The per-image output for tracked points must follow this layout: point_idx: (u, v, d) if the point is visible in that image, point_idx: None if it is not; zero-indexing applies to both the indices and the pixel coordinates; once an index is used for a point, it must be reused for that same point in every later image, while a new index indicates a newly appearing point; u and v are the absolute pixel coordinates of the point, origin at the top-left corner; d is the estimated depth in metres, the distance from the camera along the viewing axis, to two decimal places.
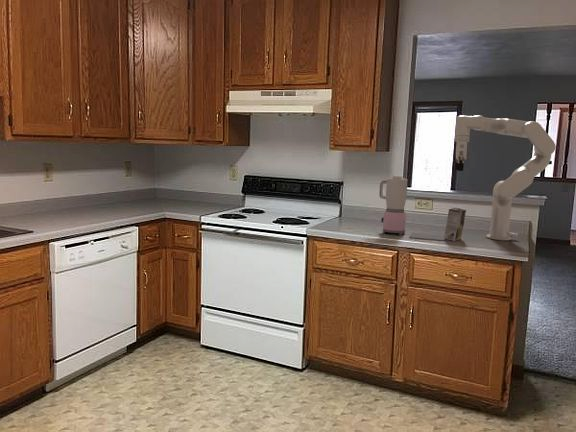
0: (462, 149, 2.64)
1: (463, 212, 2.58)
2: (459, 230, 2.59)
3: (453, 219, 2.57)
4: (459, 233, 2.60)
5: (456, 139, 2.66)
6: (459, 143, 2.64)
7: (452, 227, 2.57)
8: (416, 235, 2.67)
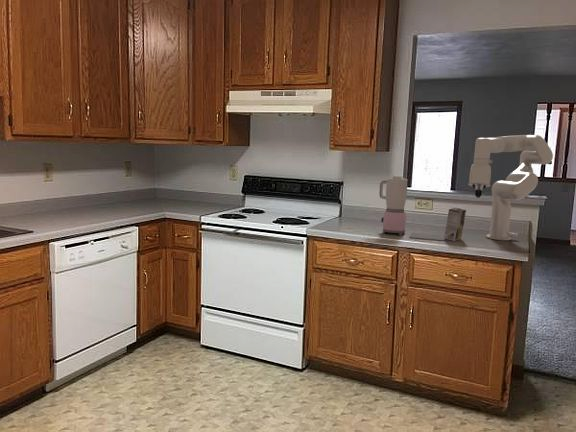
0: (490, 173, 2.52)
1: (463, 212, 2.58)
2: (459, 230, 2.59)
3: (453, 219, 2.57)
4: (459, 233, 2.60)
5: (486, 163, 2.49)
6: (490, 167, 2.51)
7: (452, 227, 2.57)
8: (416, 235, 2.67)
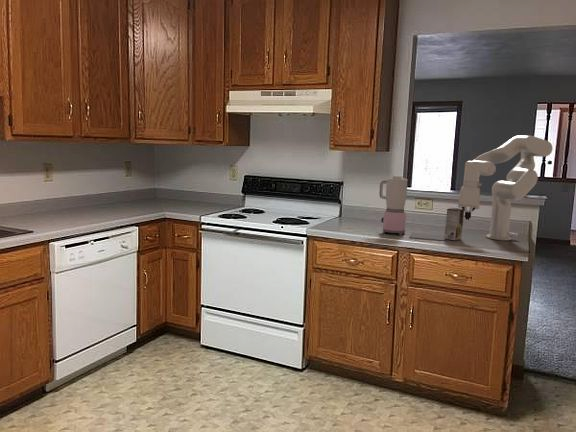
0: None
1: (461, 211, 2.59)
2: (459, 229, 2.60)
3: (452, 218, 2.58)
4: (459, 232, 2.60)
5: (475, 186, 2.53)
6: (479, 190, 2.54)
7: (452, 226, 2.58)
8: (416, 235, 2.67)
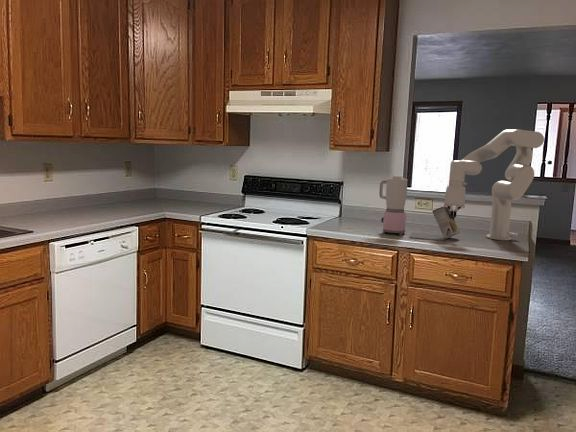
0: None
1: (446, 207, 2.65)
2: (453, 224, 2.62)
3: (440, 216, 2.62)
4: (454, 226, 2.62)
5: (460, 185, 2.55)
6: (464, 189, 2.56)
7: (444, 223, 2.60)
8: (416, 235, 2.67)
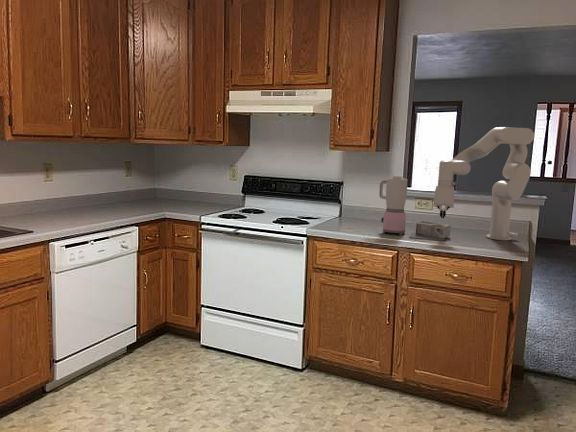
0: None
1: (421, 222, 2.73)
2: (438, 224, 2.66)
3: (423, 229, 2.68)
4: (440, 225, 2.65)
5: (449, 185, 2.57)
6: (453, 189, 2.58)
7: (431, 229, 2.65)
8: (416, 235, 2.67)
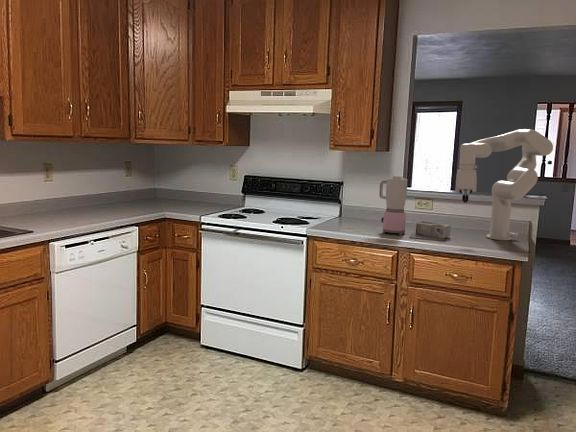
0: (476, 178, 2.55)
1: (421, 222, 2.73)
2: (438, 224, 2.66)
3: (423, 229, 2.68)
4: (440, 225, 2.65)
5: (471, 168, 2.52)
6: (475, 172, 2.53)
7: (431, 229, 2.65)
8: (416, 235, 2.67)
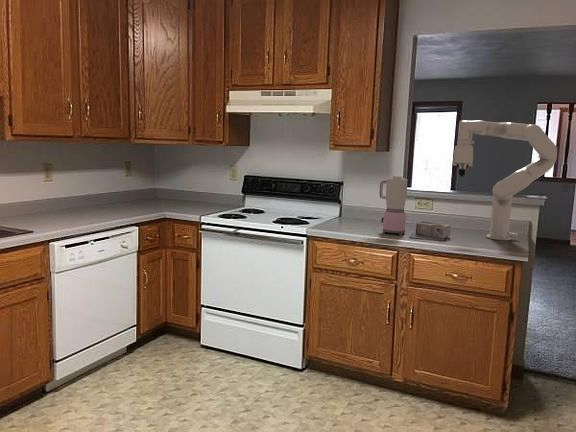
0: None
1: (421, 222, 2.73)
2: (438, 224, 2.66)
3: (423, 229, 2.68)
4: (440, 225, 2.65)
5: (469, 144, 2.68)
6: (472, 148, 2.69)
7: (431, 229, 2.65)
8: (416, 235, 2.67)
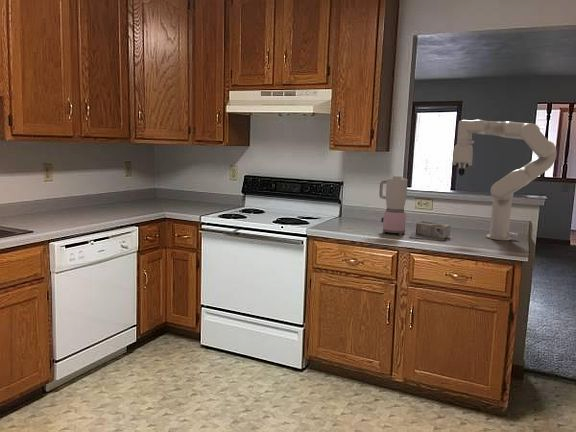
0: (472, 153, 2.73)
1: (421, 222, 2.73)
2: (438, 224, 2.66)
3: (423, 229, 2.68)
4: (440, 225, 2.65)
5: (468, 143, 2.70)
6: (471, 147, 2.72)
7: (431, 229, 2.65)
8: (416, 235, 2.67)
